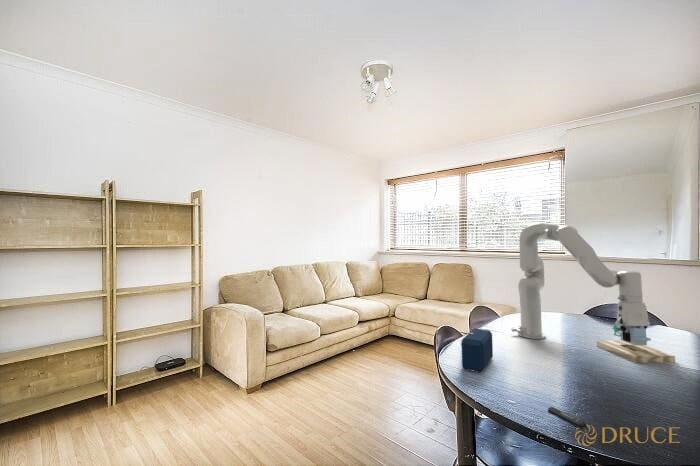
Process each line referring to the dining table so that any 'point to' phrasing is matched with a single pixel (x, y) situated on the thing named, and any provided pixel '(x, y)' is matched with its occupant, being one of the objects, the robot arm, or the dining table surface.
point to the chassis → (636, 352)
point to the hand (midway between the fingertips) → (633, 340)
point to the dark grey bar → (567, 417)
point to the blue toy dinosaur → (615, 329)
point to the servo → (636, 335)
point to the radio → (477, 350)
